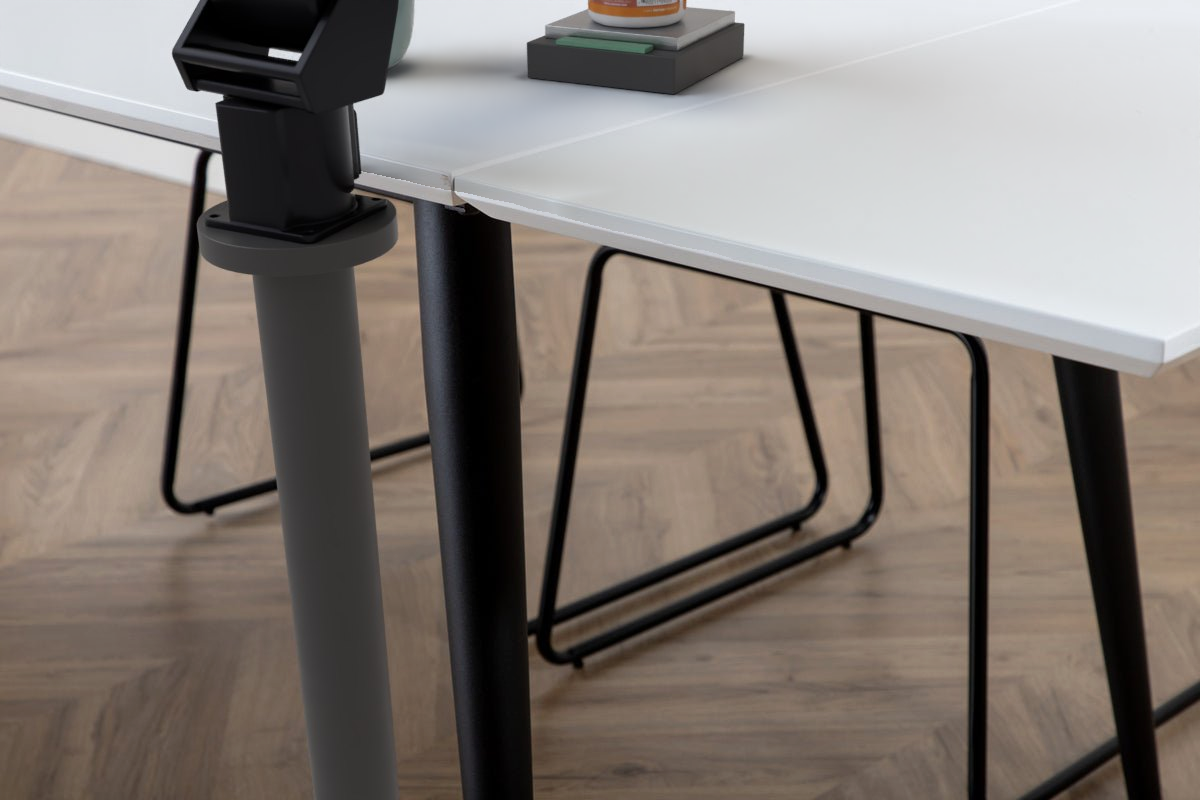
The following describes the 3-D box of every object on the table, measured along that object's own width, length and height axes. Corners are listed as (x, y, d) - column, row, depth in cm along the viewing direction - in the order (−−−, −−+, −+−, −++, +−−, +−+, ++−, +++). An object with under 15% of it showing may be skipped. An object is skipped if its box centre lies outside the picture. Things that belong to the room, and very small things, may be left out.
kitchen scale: (674, 94, 86) (675, 43, 85) (527, 77, 90) (525, 29, 89) (743, 57, 95) (745, 10, 94) (606, 43, 99) (606, -2, 98)
